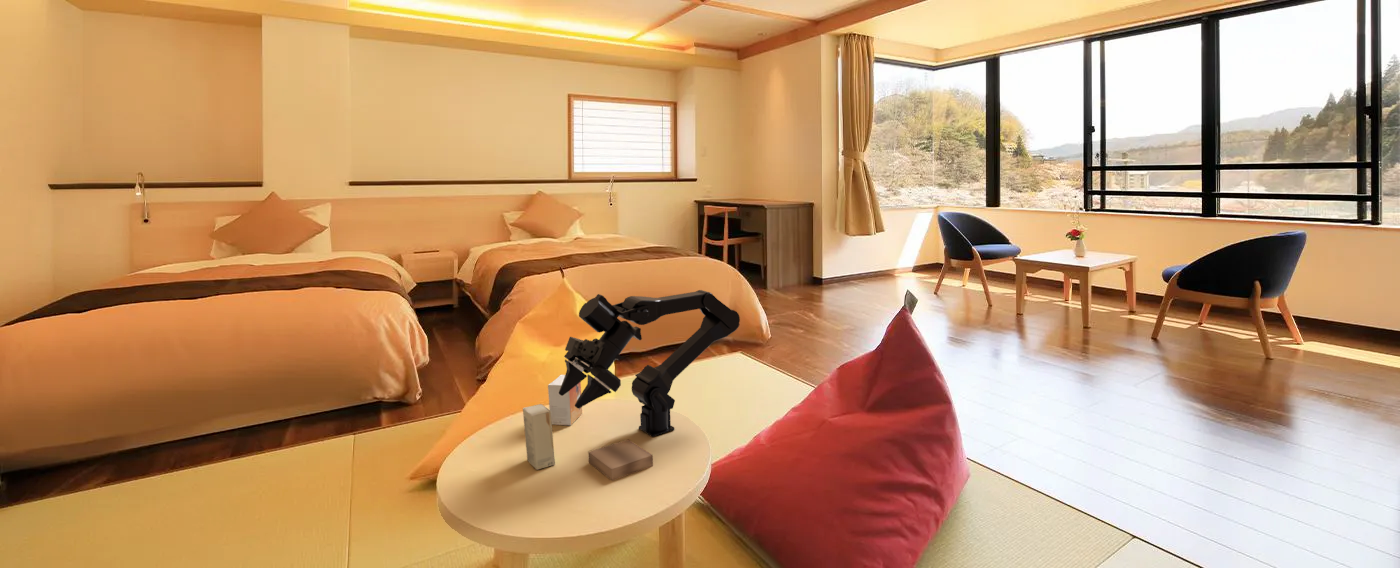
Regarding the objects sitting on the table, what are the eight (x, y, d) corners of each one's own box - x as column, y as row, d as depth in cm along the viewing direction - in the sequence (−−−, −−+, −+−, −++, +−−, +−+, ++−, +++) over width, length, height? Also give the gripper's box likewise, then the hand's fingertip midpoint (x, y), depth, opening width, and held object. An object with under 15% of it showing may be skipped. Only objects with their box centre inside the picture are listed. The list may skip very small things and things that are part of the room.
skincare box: (555, 465, 137) (552, 411, 135) (536, 470, 135) (532, 416, 132) (545, 454, 142) (541, 402, 140) (526, 459, 140) (522, 407, 138)
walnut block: (628, 451, 144) (628, 439, 143) (653, 467, 136) (652, 454, 136) (589, 464, 138) (588, 451, 137) (612, 482, 130) (611, 469, 130)
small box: (571, 426, 157) (568, 385, 155) (549, 424, 158) (547, 384, 156) (583, 413, 165) (580, 375, 163) (562, 412, 166) (560, 374, 164)
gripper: (570, 315, 147) (526, 370, 143) (605, 332, 132) (557, 394, 128) (602, 342, 153) (561, 395, 149) (639, 361, 138) (595, 421, 134)
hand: (568, 400), depth 140 cm, fingers open, 9 cm apart
